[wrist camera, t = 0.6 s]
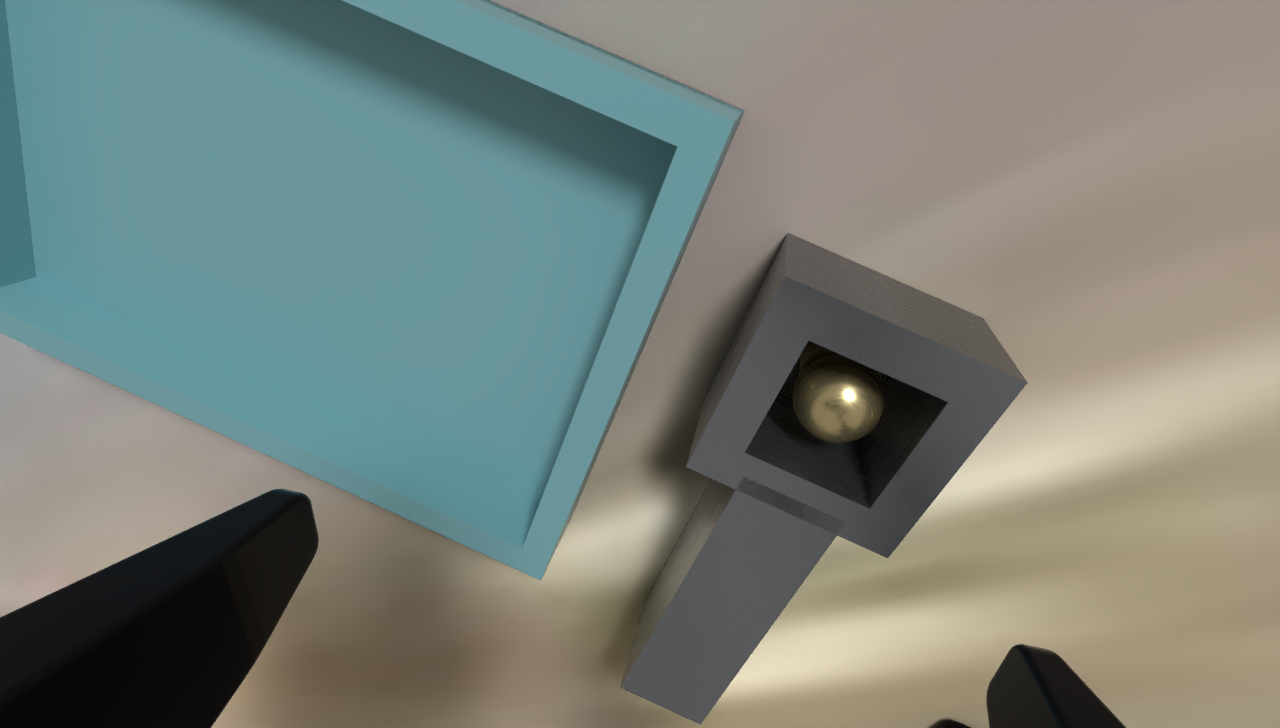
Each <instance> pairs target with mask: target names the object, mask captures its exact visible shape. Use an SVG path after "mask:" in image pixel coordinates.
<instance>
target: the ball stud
mask: <svg viewBox="0 0 1280 728" xmlns="http://www.w3.org/2000/svg"><path fill="white" fill-rule="evenodd" d="M792 402H793V409H794V412H795V414H796V417H797V419H798V421H799V422H800V424H801V425H802V426H803V427H804V428H805V429H806V430H807V431H808V432H809V433H810V434H812V435H813V436H815V437H817V438H819V439H821V440H823V441H827V442H832V443H846V442H851V441H855V440H857V439H860V438H861V437H863V436H865V435H866V434H867V433H869V432H870V431H871V430H872V429H873V428H874V427H875V426H876V424H877V423H878V421H879V419H880V417H881V415H882V412H883V408H884V391H883V387H882V384H881V382H880V380H879V378H878V376H877V375H876V373H875V372H874V371H873V370H872V369H871V368H870V367H867V366H865V365H863V364H861V363H858V362H856V361H854V360H852V359H849V358H847V357H845V356H843V355H840V354H838V353H836V352H834V351H831V350H829V349H827V348H824V347H822V346H820V345H818V344H815V343H813V342H811V341H808V342H807V344H806V346H805V348H804V349H803V351H802V353H801V355H800V375H799V376H798V378H797V380H796V382H795V385H794V388H793V394H792Z"/></svg>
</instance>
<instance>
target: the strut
mask: <svg viewBox="0 0 1280 728" xmlns="http://www.w3.org/2000/svg"><path fill="white" fill-rule="evenodd" d="M808 341H811V342H813V343H815V344H818V345H820V346H822V347H824V348H827V349H829V350H831V351H834V352H836V353H838V354H840V355H843V356H845V357H847V358H849V359H852V360H854V361H856V362H858V363H861V364H863V365H865V366H867V367H870V368H872V369H874V370H876V371H879V372H881V373H883V374H886V375H888V376H890V377H892V380H891V381H890V383H889V384H888V386H887V387H886V389H885V390H884V408H883V412H882V415H881V417H880V419H879V421H878V423H877V424H876V426H875V427H874V428H873V429H872V430H871V431H870V432H869V433H867V434H866V435H865V436H863V437H861V438H860V439H857V440H855V441H851V442H846V443H832V442H827V441H823V440H821V439H819V438H817V437H815V436H813V435H812V434H810V433H809V432H808V431H807V430H806V429H805V428H804V427H803V426H802V425H801V424H800V422H799V421H798V419H797V417H796V414H795V412H794V409H793V402H792V401H790V400H788V399H786V398H784V397H781V396H779V395H778V393H779V391H780V390H781V388H782V386H783V384H784V383H785V381H786V379H787V377H788V376H789V374H790V372H791V370H792V369H793V367H794V365H795V363H796V362H797V360H798V358H799V356H800V355H801V353H802V351H803V349H804V348H805V346H806V344H807V342H808ZM1026 384H1027V381H1026V380H1025V378H1024V377H1023V375H1022V374H1021V373H1020V371H1019V370H1018V368H1017V367H1016V365H1015V364H1014V362H1013V361H1012V359H1011V358H1010V357H1009V355H1008V354H1007V352H1006V351H1005V349H1004V348H1003V346H1002V345H1001V343H1000V342H999V341H998V339H997V338H996V336H995V335H994V333H993V332H992V330H991V329H990V328H989V326H988V325H987V323H986V322H985V320H984V319H983V318H981V317H978V316H976V315H974V314H972V313H969V312H967V311H965V310H962V309H960V308H958V307H956V306H953V305H951V304H949V303H946V302H944V301H942V300H940V299H937V298H935V297H933V296H930V295H928V294H926V293H924V292H921V291H919V290H917V289H914V288H912V287H910V286H908V285H905V284H903V283H901V282H898V281H896V280H894V279H892V278H889V277H887V276H885V275H882V274H880V273H878V272H876V271H873V270H871V269H869V268H866V267H864V266H862V265H860V264H857V263H855V262H853V261H850V260H848V259H846V258H844V257H841V256H839V255H837V254H834V253H832V252H830V251H828V250H825V249H823V248H821V247H818V246H816V245H814V244H812V243H809V242H807V241H805V240H802V239H800V238H798V237H796V236H793V235H791V234H789V233H788V234H787V236H786V237H785V239H784V241H783V243H782V245H781V247H780V249H779V251H778V253H777V255H776V257H775V259H774V261H773V263H772V265H771V267H770V269H769V271H768V273H767V275H766V277H765V279H764V281H763V283H762V285H761V287H760V289H759V291H758V293H757V295H756V297H755V299H754V301H753V303H752V305H751V307H750V309H749V311H748V313H747V315H746V317H745V319H744V321H743V323H742V325H741V327H740V329H739V331H738V333H737V335H736V337H735V339H734V341H733V343H732V345H731V347H730V349H729V351H728V353H727V355H726V357H725V359H724V361H723V363H722V365H721V366H720V368H719V370H718V372H717V374H716V376H715V378H714V380H713V382H712V384H711V386H710V388H709V390H708V392H707V394H706V396H705V398H704V402H703V406H702V409H701V413H700V417H699V420H698V424H697V428H696V431H695V435H694V439H693V443H692V446H691V450H690V454H689V457H688V461H687V465H686V467H687V468H689V469H691V470H693V471H695V472H698V473H700V474H702V475H704V476H707V477H709V478H711V479H712V480H711V482H710V484H709V485H708V487H707V489H706V491H705V493H704V495H703V496H702V498H701V500H700V502H699V504H698V505H697V507H696V509H695V511H694V513H693V514H692V516H691V518H690V520H689V522H688V523H687V525H686V527H685V529H684V531H683V532H682V534H681V536H680V538H679V540H678V542H677V543H676V545H675V547H674V549H673V551H672V552H671V554H670V556H669V558H668V560H667V561H666V563H665V565H664V567H663V569H662V570H661V572H660V574H659V576H658V578H657V579H656V581H655V583H654V585H653V587H652V589H651V590H650V592H649V594H648V596H647V598H646V599H645V602H644V605H643V609H642V613H641V616H640V620H639V623H638V627H637V630H636V634H635V638H634V641H633V645H632V648H631V652H630V655H629V659H628V663H627V666H626V670H625V673H624V677H623V680H622V684H621V688H623V689H625V690H627V691H629V692H631V693H633V694H636V695H638V696H640V697H642V698H644V699H646V700H649V701H651V702H653V703H655V704H657V705H659V706H662V707H664V708H666V709H668V710H670V711H672V712H675V713H677V714H679V715H681V716H683V717H685V718H688V719H690V720H692V721H694V722H696V723H698V724H701V723H702V722H703V720H704V719H705V717H706V716H707V715H708V713H709V712H710V711H711V709H712V708H713V706H714V705H715V704H716V702H717V701H718V699H719V698H720V697H721V695H722V694H723V692H724V691H725V690H726V688H727V687H728V686H729V684H730V683H731V681H732V680H733V679H734V677H735V676H736V674H737V673H738V672H739V670H740V669H741V668H742V666H743V665H744V663H745V662H746V661H747V659H748V658H749V656H750V655H751V654H752V652H753V651H754V650H755V648H756V647H757V645H758V644H759V643H760V641H761V640H762V638H763V637H764V636H765V634H766V633H767V632H768V630H769V629H770V627H771V626H772V625H773V623H774V622H775V620H776V619H777V618H778V616H779V615H780V614H781V612H782V611H783V609H784V608H785V607H786V605H787V604H788V602H789V601H790V600H791V598H792V597H793V596H794V594H795V593H796V591H797V590H798V589H799V587H800V586H801V584H802V583H803V582H804V580H805V579H806V577H807V576H808V575H809V573H810V572H811V571H812V569H813V568H814V566H815V565H816V564H817V562H818V561H819V559H820V558H821V557H822V555H823V554H824V553H825V551H826V550H827V548H828V547H829V546H830V544H831V543H832V541H833V540H834V539H835V537H836V536H837V535H838V536H840V537H842V538H844V539H847V540H849V541H851V542H853V543H855V544H858V545H860V546H862V547H864V548H866V549H869V550H871V551H873V552H875V553H878V554H880V555H882V556H884V557H886V558H888V557H889V556H890V555H891V554H892V552H893V551H894V550H895V549H896V547H897V546H898V545H899V544H900V542H901V541H902V540H903V538H904V537H905V536H906V535H907V533H908V532H909V531H910V530H911V528H912V527H913V526H914V525H915V523H916V522H917V521H918V520H919V518H920V517H921V516H922V515H923V513H924V512H925V511H926V510H927V508H928V507H929V506H930V505H931V503H932V502H933V501H934V500H935V498H936V497H937V496H938V495H939V493H940V492H941V491H942V490H943V488H944V487H945V486H946V484H947V483H948V482H949V481H950V479H951V478H952V477H953V476H954V474H955V473H956V472H957V471H958V469H959V468H960V467H961V466H962V464H963V463H964V462H965V461H966V459H967V458H968V457H969V456H970V454H971V453H972V452H973V451H974V449H975V448H976V447H977V446H978V444H979V443H980V442H981V441H982V439H983V438H984V437H985V436H986V434H987V433H988V432H989V430H990V429H991V428H992V427H993V425H994V424H995V423H996V422H997V420H998V419H999V418H1000V417H1001V415H1002V414H1003V413H1004V412H1005V410H1006V409H1007V408H1008V407H1009V405H1010V404H1011V403H1012V402H1013V400H1014V399H1015V398H1016V397H1017V395H1018V394H1019V393H1020V392H1021V390H1022V389H1023V388H1024V387H1025V385H1026Z"/></svg>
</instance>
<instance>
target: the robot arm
mask: <svg viewBox="0 0 1280 728" xmlns="http://www.w3.org/2000/svg"><path fill="white" fill-rule="evenodd" d="M317 547H318V532H317V528H316V523H315V519H314V514H313V510H312V505H311V501H310V499H309V498H308V497H307V495H305V494H303V493H299V492H294V491H290V490H285V489H275V490H271V491H269V492H267V493H264V494H262V495H260V496H258V497H256V498H254V499H252V500H249V501H247V502H245V503H243V504H241V505H239V506H237V507H235V508H232V509H230V510H228V511H226V512H224V513H222V514H220V515H218V516H215V517H213V518H211V519H209V520H207V521H205V522H203V523H200V524H198V525H196V526H194V527H192V528H190V529H188V530H186V531H183V532H181V533H179V534H177V535H175V536H173V537H171V538H169V539H166V540H164V541H162V542H160V543H158V544H156V545H154V546H152V547H149V548H147V549H145V550H143V551H141V552H139V553H137V554H134V555H132V556H130V557H128V558H126V559H124V560H122V561H120V562H117V563H115V564H113V565H111V566H109V567H107V568H105V569H103V570H100V571H98V572H96V573H94V574H92V575H90V576H88V577H85V578H83V579H81V580H79V581H77V582H75V583H73V584H71V585H68V586H66V587H64V588H62V589H60V590H58V591H56V592H54V593H51V594H49V595H47V596H45V597H43V598H41V599H39V600H36V601H34V602H32V603H30V604H28V605H26V606H24V607H22V608H19V609H17V610H15V611H13V612H11V613H9V614H7V615H5V616H2V617H0V728H211V727H212V725H213V724H214V722H215V721H216V719H217V718H218V717H219V715H220V714H221V712H222V711H223V709H224V708H225V706H226V705H227V703H228V702H229V700H230V699H231V698H232V696H233V695H234V693H235V692H236V690H237V689H238V687H239V686H240V684H241V683H242V681H243V680H244V678H245V677H246V675H247V674H248V672H249V671H250V669H251V668H252V666H253V665H254V663H255V662H256V660H257V658H258V657H259V655H260V653H261V652H262V650H263V648H264V646H265V645H266V643H267V641H268V639H269V638H270V636H271V634H272V632H273V630H274V628H275V627H276V625H277V623H278V621H279V619H280V618H281V616H282V614H283V612H284V610H285V609H286V607H287V605H288V603H289V601H290V600H291V598H292V596H293V594H294V592H295V590H296V589H297V587H298V585H299V583H300V581H301V580H302V578H303V576H304V574H305V572H306V571H307V569H308V567H309V565H310V563H311V562H312V560H313V558H314V556H315V554H316V551H317ZM987 711H988V719H989V727H990V728H1126V727H1125V726H1124V725H1123V724H1122V723H1121V722H1120V721H1119V720H1118V718H1117V717H1116V716H1115V715H1114V714H1113V713H1112V712H1111V711H1110V710H1109V709H1108V708H1107V707H1106V706H1105V704H1104V703H1103V702H1102V701H1101V700H1100V699H1099V698H1098V697H1097V696H1096V695H1095V694H1094V693H1093V692H1092V690H1091V689H1090V688H1089V687H1088V686H1087V685H1086V684H1085V683H1084V682H1083V681H1082V680H1081V679H1080V677H1079V676H1078V675H1077V674H1076V673H1075V672H1074V671H1073V670H1072V669H1071V668H1070V667H1069V666H1068V665H1067V663H1066V662H1065V661H1064V660H1063V659H1062V658H1061V657H1060V656H1059V655H1057V654H1056V653H1055V652H1053V651H1050V650H1047V649H1043V648H1038V647H1033V646H1028V645H1024V644H1018V645H1015V646H1014V647H1012V648H1011V649H1010V651H1009V652H1008V654H1007V655H1006V657H1005V659H1004V660H1003V662H1002V664H1001V665H1000V667H999V669H998V670H997V672H996V673H995V675H994V677H993V678H992V680H991V682H990V684H989V687H988V690H987ZM939 728H970V727H968V726H966V725H963V724H961V723H958V722H946V723H944V724H942V725H941V726H940V727H939Z"/></svg>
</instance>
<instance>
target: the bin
mask: <svg viewBox="0 0 1280 728" xmlns="http://www.w3.org/2000/svg"><path fill="white" fill-rule="evenodd" d="M743 113H744V110H742V109H739V108H737V107H735V106H732V105H730V104H728V103H725V102H723V101H721V100H719V99H716V98H714V97H712V96H709V95H707V94H705V93H702V92H700V91H698V90H695V89H693V88H691V87H689V86H686V85H684V84H682V83H679V82H677V81H675V80H672V79H670V78H668V77H665V76H663V75H661V74H658V73H656V72H654V71H652V70H649V69H647V68H645V67H642V66H640V65H638V64H635V63H633V62H631V61H628V60H626V59H624V58H622V57H619V56H617V55H615V54H612V53H610V52H608V51H605V50H603V49H601V48H598V47H596V46H594V45H592V44H589V43H587V42H585V41H582V40H580V39H578V38H575V37H573V36H571V35H568V34H566V33H564V32H561V31H559V30H557V29H555V28H552V27H550V26H548V25H545V24H543V23H541V22H538V21H536V20H534V19H531V18H529V17H527V16H525V15H522V14H520V13H518V12H515V11H513V10H511V9H508V8H506V7H504V6H501V5H499V4H497V3H495V2H492V1H490V0H0V333H2V334H4V335H6V336H8V337H11V338H13V339H15V340H17V341H19V342H22V343H24V344H26V345H28V346H30V347H32V348H35V349H37V350H39V351H41V352H43V353H46V354H48V355H50V356H52V357H54V358H56V359H59V360H61V361H63V362H65V363H67V364H70V365H72V366H74V367H76V368H78V369H80V370H83V371H85V372H87V373H89V374H91V375H94V376H96V377H98V378H100V379H102V380H104V381H107V382H109V383H111V384H113V385H115V386H118V387H120V388H122V389H124V390H126V391H128V392H131V393H133V394H135V395H137V396H139V397H142V398H144V399H146V400H148V401H150V402H152V403H155V404H157V405H159V406H161V407H163V408H166V409H168V410H170V411H172V412H174V413H177V414H179V415H181V416H183V417H185V418H187V419H190V420H192V421H194V422H196V423H198V424H201V425H203V426H205V427H207V428H209V429H211V430H214V431H216V432H218V433H220V434H222V435H225V436H227V437H229V438H231V439H233V440H235V441H238V442H240V443H242V444H244V445H246V446H249V447H251V448H253V449H255V450H257V451H259V452H262V453H264V454H266V455H268V456H270V457H273V458H275V459H277V460H279V461H281V462H283V463H286V464H288V465H290V466H292V467H294V468H297V469H299V470H301V471H303V472H305V473H307V474H310V475H312V476H314V477H316V478H318V479H321V480H323V481H325V482H327V483H329V484H331V485H334V486H336V487H338V488H340V489H342V490H345V491H347V492H349V493H351V494H353V495H355V496H358V497H360V498H362V499H364V500H366V501H369V502H371V503H373V504H375V505H377V506H379V507H382V508H384V509H386V510H388V511H390V512H393V513H395V514H397V515H399V516H401V517H403V518H406V519H408V520H410V521H412V522H414V523H417V524H419V525H421V526H423V527H425V528H427V529H430V530H432V531H434V532H436V533H438V534H441V535H443V536H445V537H447V538H449V539H452V540H454V541H456V542H458V543H460V544H462V545H465V546H467V547H469V548H471V549H473V550H476V551H478V552H480V553H482V554H484V555H486V556H489V557H491V558H493V559H495V560H497V561H500V562H502V563H504V564H506V565H508V566H510V567H513V568H515V569H517V570H519V571H521V572H524V573H526V574H528V575H530V576H532V577H534V578H537V579H539V580H541V579H542V577H543V575H544V573H545V571H546V569H547V567H548V565H549V563H550V561H551V558H552V556H553V554H554V552H555V550H556V548H557V546H558V544H559V542H560V540H561V538H562V536H563V534H564V532H565V530H566V528H567V526H568V523H569V521H570V519H571V516H572V514H573V512H574V509H575V507H576V505H577V502H578V500H579V498H580V495H581V493H582V491H583V488H584V486H585V484H586V481H587V479H588V476H589V474H590V472H591V469H592V467H593V465H594V462H595V460H596V458H597V455H598V453H599V451H600V448H601V446H602V444H603V441H604V439H605V437H606V434H607V432H608V430H609V427H610V425H611V422H612V420H613V418H614V415H615V413H616V411H617V408H618V406H619V404H620V401H621V399H622V397H623V394H624V392H625V390H626V387H627V385H628V383H629V380H630V378H631V376H632V373H633V371H634V368H635V366H636V364H637V361H638V359H639V357H640V354H641V352H642V350H643V347H644V345H645V343H646V340H647V338H648V336H649V333H650V331H651V329H652V326H653V324H654V322H655V319H656V317H657V314H658V312H659V310H660V307H661V305H662V303H663V300H664V298H665V296H666V293H667V291H668V289H669V286H670V284H671V282H672V279H673V277H674V275H675V272H676V270H677V268H678V265H679V263H680V261H681V258H682V256H683V253H684V251H685V249H686V246H687V244H688V242H689V239H690V237H691V235H692V232H693V230H694V228H695V225H696V223H697V221H698V218H699V216H700V214H701V211H702V209H703V207H704V204H705V202H706V199H707V197H708V195H709V192H710V190H711V188H712V185H713V183H714V181H715V178H716V176H717V174H718V171H719V169H720V167H721V164H722V162H723V160H724V157H725V155H726V153H727V150H728V148H729V145H730V143H731V141H732V138H733V136H734V134H735V131H736V129H737V127H738V124H739V122H740V120H741V117H742V115H743Z"/></svg>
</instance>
